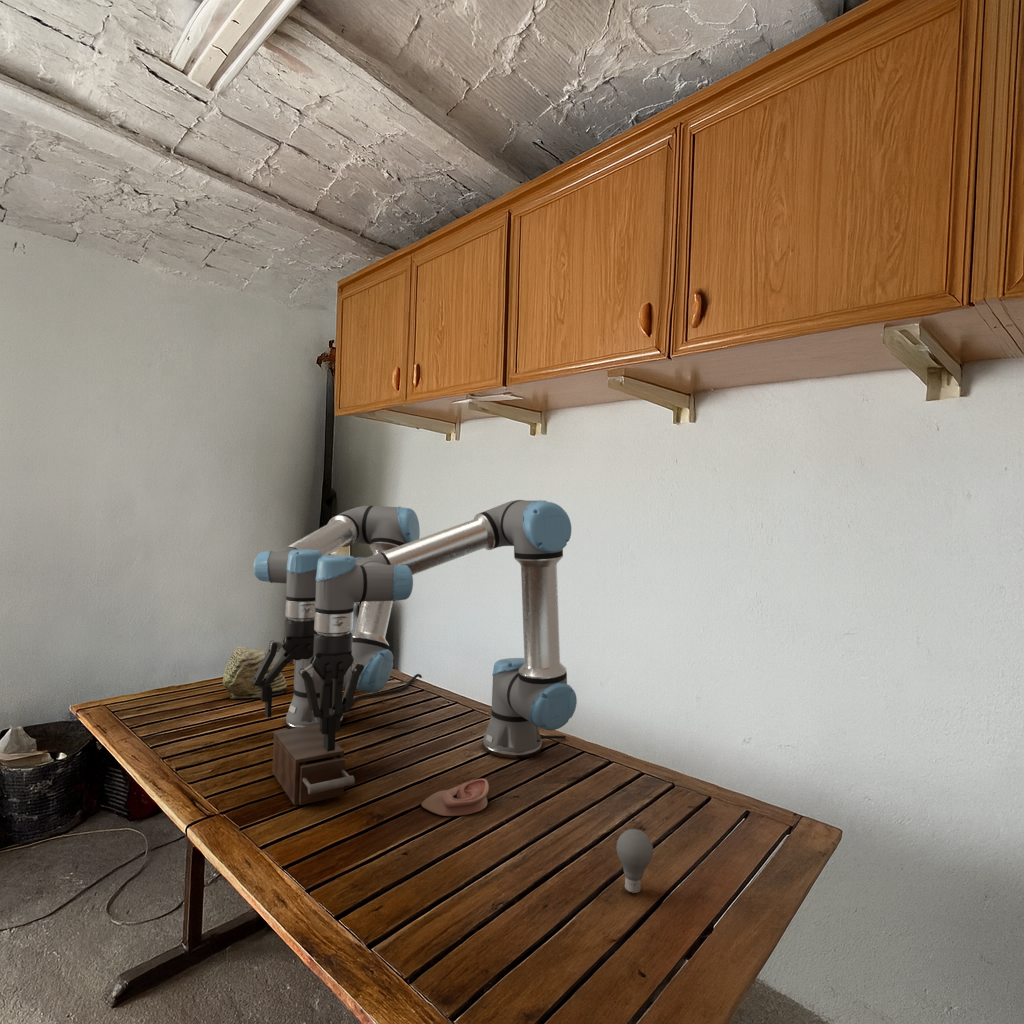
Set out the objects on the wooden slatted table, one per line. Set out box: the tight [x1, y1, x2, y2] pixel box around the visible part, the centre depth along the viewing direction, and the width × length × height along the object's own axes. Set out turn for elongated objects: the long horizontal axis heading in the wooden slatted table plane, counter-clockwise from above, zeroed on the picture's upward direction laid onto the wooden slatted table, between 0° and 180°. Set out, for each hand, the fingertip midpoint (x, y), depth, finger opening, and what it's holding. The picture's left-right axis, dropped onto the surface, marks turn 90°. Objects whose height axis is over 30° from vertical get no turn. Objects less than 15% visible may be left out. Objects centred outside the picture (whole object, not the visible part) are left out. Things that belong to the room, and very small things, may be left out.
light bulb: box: [615, 828, 654, 894], centre depth 106 cm, size 6×6×10 cm
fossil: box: [222, 646, 288, 699], centre depth 198 cm, size 9×18×15 cm, turn 132°
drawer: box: [299, 756, 356, 806], centre depth 135 cm, size 22×9×8 cm, turn 35°
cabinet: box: [271, 724, 345, 806], centre depth 140 cm, size 18×10×10 cm, turn 34°
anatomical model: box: [421, 778, 490, 817], centre depth 133 cm, size 13×4×12 cm
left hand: (299, 711), depth 144 cm, fingers open, 13 cm apart
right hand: (329, 748), depth 128 cm, fingers closed
